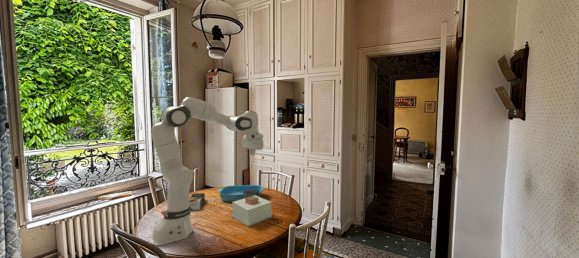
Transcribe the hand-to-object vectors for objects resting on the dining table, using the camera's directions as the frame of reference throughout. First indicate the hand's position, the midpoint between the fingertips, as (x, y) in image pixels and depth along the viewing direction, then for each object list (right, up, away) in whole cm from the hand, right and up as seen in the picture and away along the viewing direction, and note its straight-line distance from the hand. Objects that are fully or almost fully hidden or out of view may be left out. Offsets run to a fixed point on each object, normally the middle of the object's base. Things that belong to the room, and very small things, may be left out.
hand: (252, 155), depth 159 cm
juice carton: (-44, -39, +15) cm, 61 cm away
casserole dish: (-13, -38, +29) cm, 50 cm away
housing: (+1, -40, -7) cm, 40 cm away
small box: (-3, -39, +15) cm, 41 cm away
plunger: (+1, -39, -7) cm, 39 cm away
